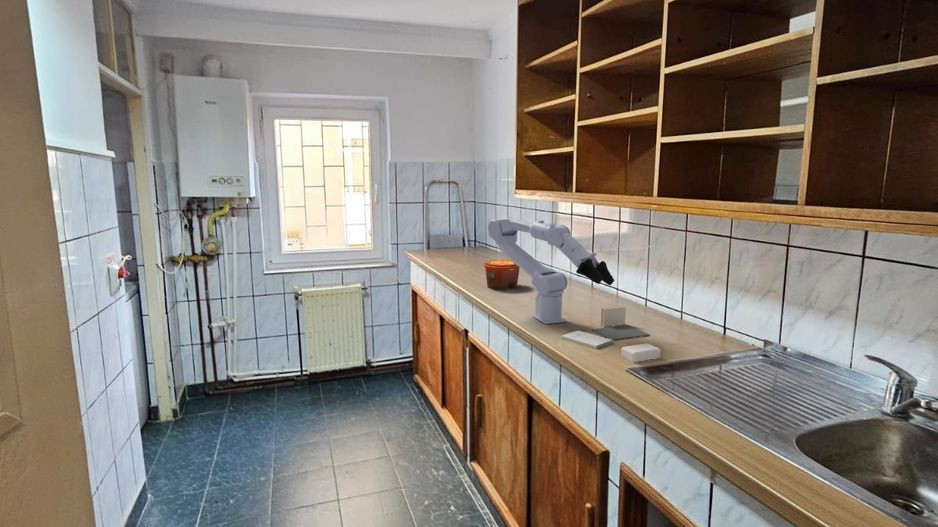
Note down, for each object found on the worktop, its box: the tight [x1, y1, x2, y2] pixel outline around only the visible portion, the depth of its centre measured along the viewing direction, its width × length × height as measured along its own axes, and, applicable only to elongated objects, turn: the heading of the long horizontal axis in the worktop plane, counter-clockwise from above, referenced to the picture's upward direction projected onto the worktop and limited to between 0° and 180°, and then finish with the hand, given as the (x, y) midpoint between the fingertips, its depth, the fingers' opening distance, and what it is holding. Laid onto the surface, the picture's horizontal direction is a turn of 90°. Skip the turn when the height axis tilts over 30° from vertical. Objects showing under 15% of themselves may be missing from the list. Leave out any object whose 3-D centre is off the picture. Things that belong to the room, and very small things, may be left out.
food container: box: [483, 259, 521, 291], centre depth 222 cm, size 16×16×11 cm
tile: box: [600, 305, 627, 328], centre depth 166 cm, size 2×8×6 cm, turn 109°
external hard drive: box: [561, 330, 614, 350], centre depth 151 cm, size 2×8×12 cm
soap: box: [620, 343, 662, 363], centre depth 137 cm, size 9×6×3 cm, turn 111°
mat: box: [591, 324, 651, 341], centre depth 158 cm, size 10×14×1 cm
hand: (606, 282), depth 153 cm, fingers open, 7 cm apart
